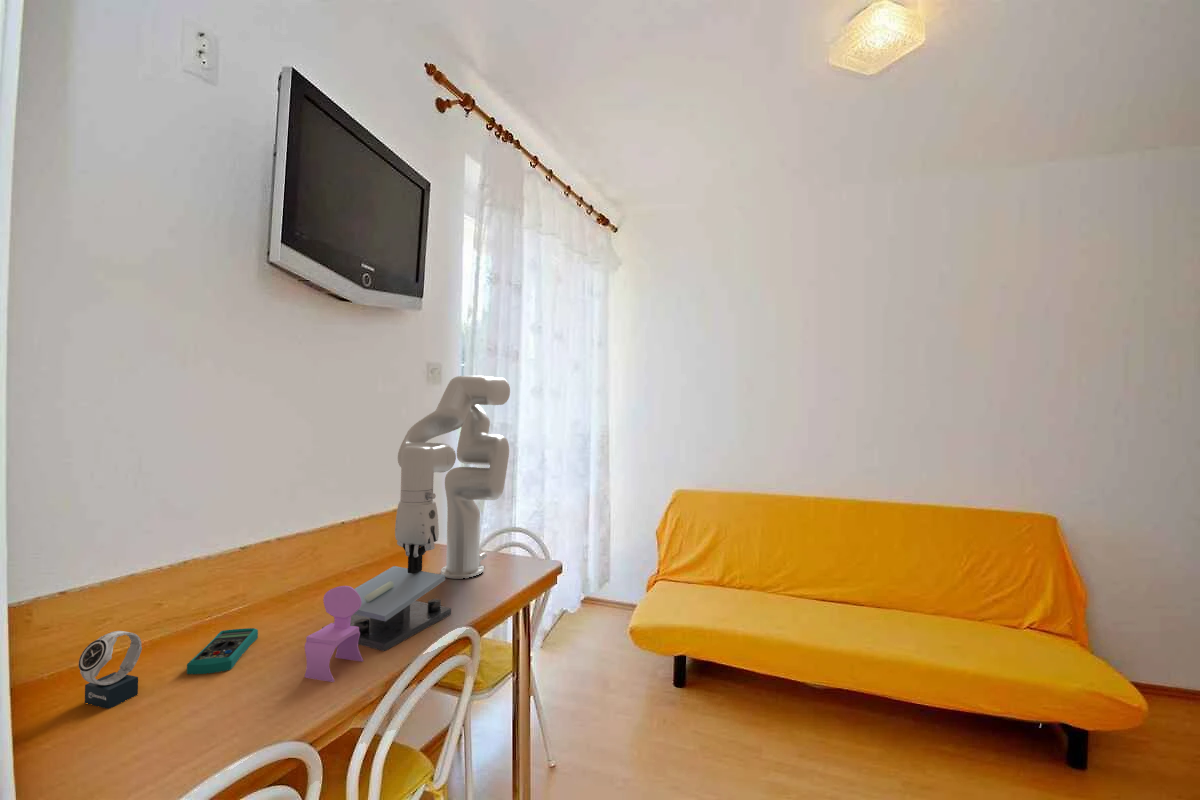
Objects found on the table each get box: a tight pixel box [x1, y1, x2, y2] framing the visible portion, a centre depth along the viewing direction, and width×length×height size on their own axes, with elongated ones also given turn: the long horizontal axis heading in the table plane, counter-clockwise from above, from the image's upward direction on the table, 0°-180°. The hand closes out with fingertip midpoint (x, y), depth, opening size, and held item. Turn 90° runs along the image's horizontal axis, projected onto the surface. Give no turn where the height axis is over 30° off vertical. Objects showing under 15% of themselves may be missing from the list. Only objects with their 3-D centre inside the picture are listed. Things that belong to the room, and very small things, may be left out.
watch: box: [78, 630, 143, 710], centre depth 89 cm, size 6×8×11 cm
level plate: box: [354, 565, 446, 621], centre depth 121 cm, size 19×16×3 cm
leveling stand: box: [321, 598, 452, 652], centre depth 121 cm, size 21×18×6 cm
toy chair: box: [304, 585, 365, 683], centre depth 101 cm, size 8×9×15 cm
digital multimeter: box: [186, 627, 259, 675], centre depth 105 cm, size 7×15×3 cm, turn 15°
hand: (414, 571), depth 129 cm, fingers closed
